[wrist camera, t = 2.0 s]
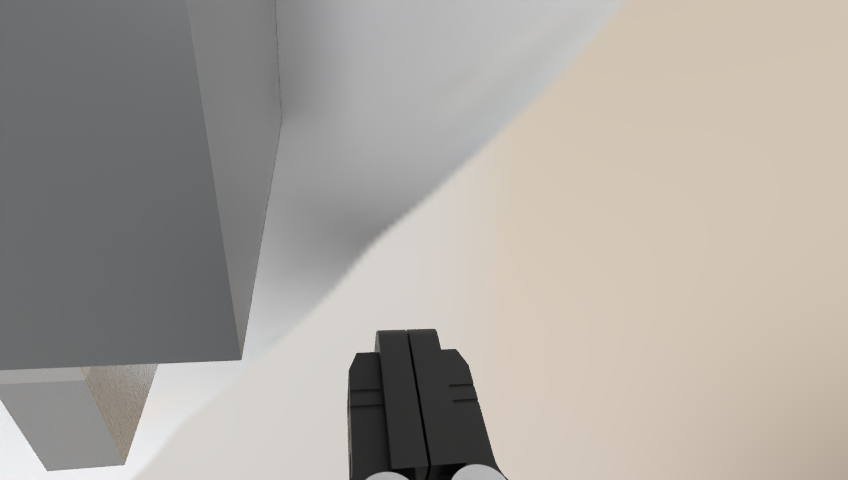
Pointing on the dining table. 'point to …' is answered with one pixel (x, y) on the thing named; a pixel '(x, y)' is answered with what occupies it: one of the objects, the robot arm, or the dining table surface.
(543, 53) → the dining table surface
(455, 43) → the dining table surface
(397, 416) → the robot arm
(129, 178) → the camera housing
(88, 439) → the battery door
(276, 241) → the dining table surface
